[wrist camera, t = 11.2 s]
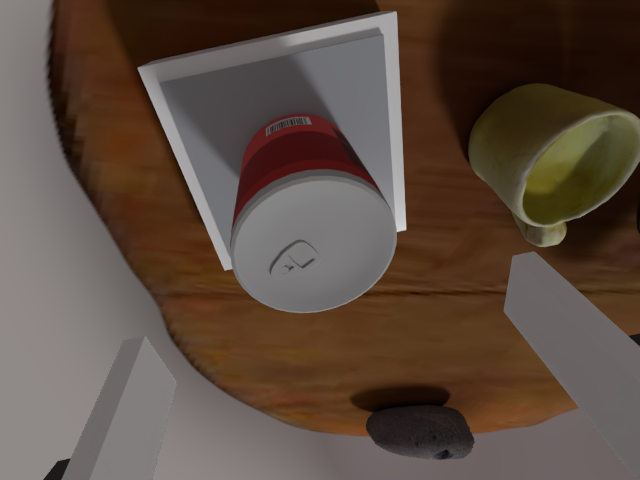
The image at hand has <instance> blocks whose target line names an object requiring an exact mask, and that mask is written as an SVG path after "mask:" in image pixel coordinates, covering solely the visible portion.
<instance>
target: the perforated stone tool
mask: <svg viewBox="0 0 640 480" xmlns="http://www.w3.org/2000/svg"><path fill="white" fill-rule="evenodd" d="M366 430H367V432H368V433H369V435H370V436H371V438H372V439H373V441H374V442H375V444H377V445H378V446H380V447H381V448H383V449H385V450H387V451H389V452H392V453H396V454H399V455H403V456H409V457H416V458H424V459H438V460H442V459H459V458H464V457H465V456H467V455H468V454H469V453H470V452H471V449H472V448H473V444H474V443H475V442H474V438H473V436H472V433H471V432H470V427H468V425H467V422H466V420H465V418H464V417H463V415H462V414H461V413H460V412H459V411H457V410H455V409H453V408H448V407H443V406H436V405H417V406H405V407H393V408H387V409H383V410H380V411H377V412H375V413H373V414H372V415H371V416H370V417H369V418H368V420H367V423H366Z"/></svg>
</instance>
